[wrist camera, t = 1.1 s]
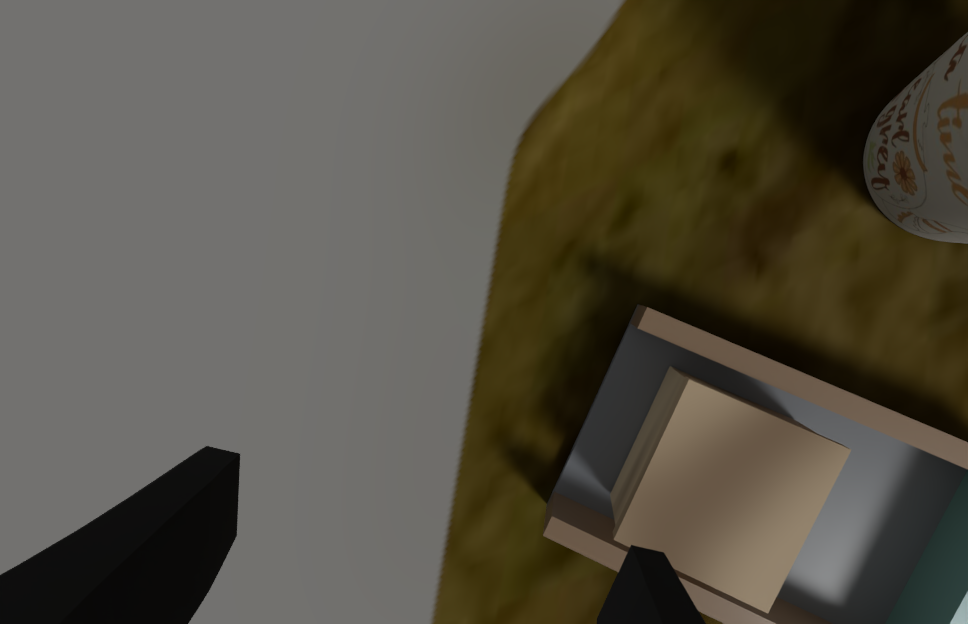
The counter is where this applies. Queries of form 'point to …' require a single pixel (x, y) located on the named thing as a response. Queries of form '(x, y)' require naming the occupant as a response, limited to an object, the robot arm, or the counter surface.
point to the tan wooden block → (723, 487)
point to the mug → (925, 151)
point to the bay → (845, 514)
